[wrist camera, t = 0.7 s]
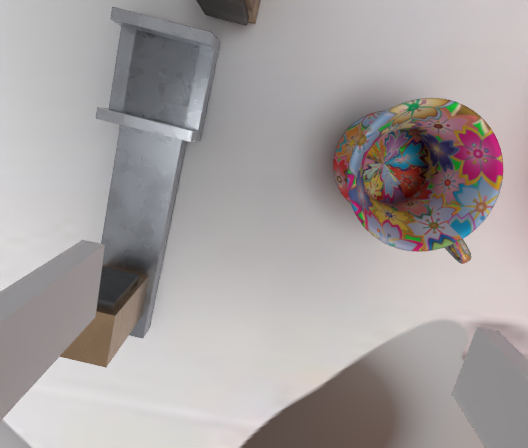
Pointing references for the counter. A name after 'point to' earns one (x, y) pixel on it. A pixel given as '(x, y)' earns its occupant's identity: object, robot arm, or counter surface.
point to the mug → (421, 174)
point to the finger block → (232, 10)
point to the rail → (145, 169)
